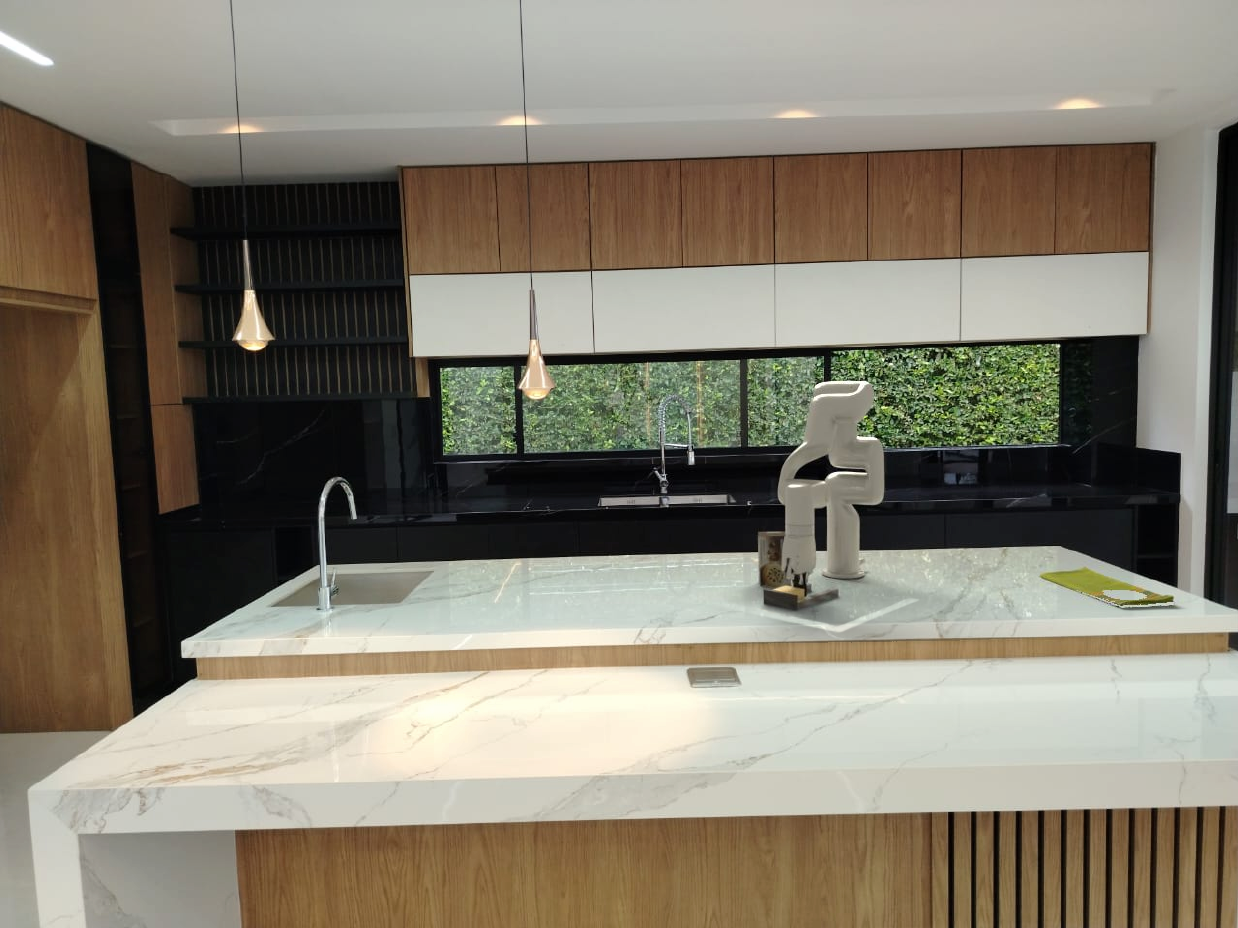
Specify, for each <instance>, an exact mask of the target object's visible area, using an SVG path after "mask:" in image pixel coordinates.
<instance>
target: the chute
mask: <svg viewBox="0 0 1238 928" xmlns="http://www.w3.org/2000/svg"><path fill="white" fill-rule="evenodd" d="M806 584H807V593H809V592H811V591H812V583H806ZM836 597H839V588H836V587H832V588H830V589H826V590H823V591H820V592H818V593H815V594H811V595H809V596H807V597H803V598H800V599H798V595H793V594H788V593H783V592H778V591H773V589H767V588H764V589H763V605H767V606H771V607H775V608H781V609H785V610H789V611H793V612H798V611H800V610H803V609H806V608H809V607H812V606H814V605H817V604H819V603H822V602H825V601H827V600H831V599H834V598H836Z"/></svg>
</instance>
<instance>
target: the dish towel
mask: <svg viewBox="0 0 1238 928" xmlns="http://www.w3.org/2000/svg"><path fill="white" fill-rule="evenodd" d="M1040 577H1041V579H1043V580H1046V581H1049V582H1050V583H1054V584H1056V585H1059V586H1062V587H1064V588H1067V589H1069V588H1070V589H1069V590H1072V591H1074V590H1078V591H1081V592H1084V593H1086V594H1089V595H1092V596H1095V597H1098V598H1101V599H1103V598H1104V600H1106V599H1108V600H1109V601H1108V600H1106V601H1108V602H1111V601H1115V602H1112V603H1114V604H1117V605H1120V606H1123V605H1140V604H1141V605H1148V604H1156V603H1167V602H1174V603H1175V601H1174V599H1175V598H1174V596H1173V595H1170V594H1166V595H1162V594H1159V593H1156V592H1153V591H1150V590H1147V589H1144V588H1141V587H1139V586H1136V585H1133V584H1131V583H1127V582H1123V581H1120V580H1118V579H1115V578H1112V577H1108V576H1106V575H1104V574H1102V573H1099V572H1096V571H1093V570H1091V569H1090V568H1087V567H1086V566H1084V567H1082V568H1080V569H1072V570H1067V571H1066V570H1061V571H1060V570H1059V571H1050V572H1049V571H1048V572H1044V573H1041V574H1039V578H1040ZM1103 590H1111V591H1112V590H1130V591H1136V592H1139V593H1143V594H1145V595H1147V596H1146V597H1147V598H1145V599H1144V598H1143V599H1139V600H1120V599H1114V598H1111V597H1108V596H1106V595H1104V594H1103V593H1104V592H1102V591H1103Z"/></svg>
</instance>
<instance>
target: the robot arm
mask: <svg viewBox="0 0 1238 928" xmlns="http://www.w3.org/2000/svg"><path fill="white" fill-rule="evenodd" d="M812 391H813V392H812V393H813V398H812V399H811V400H810V403H809V407H808V413H807V414H808V415H807V419H806V424H805V430H804V434H803V441H802V443H801V445H799V446H798V447H797V448H796V449H795V450H794V451H793V452H792V453H791V454H790V455H789V456H788V457H787V458H786V460H785V462H784V464H783V465H782V468H781V471H780V476H779V481H778V487H777V498H778V500H779V502H780V504H782V505H783V506H784V507H785V532H786V536H785V537H784V542H783V549H782V572H784V573H787V577H786V578H787V579H791V584H793V585H792V587H796V588H801V589H804V597H808V596H807V593H808V592H807V584H806V583H808V582H809V576H810V575H811V574H813V572H814V569H815V568H816V567H817V548H816V539H815V509H823V508H825V507H826V516H827V517H826V521H827V522H826V524H827V525H826V526H827V528H826V530H827V531H826V532H827V533H826V534H827V535H826V554H827V555H826V563H827V564H826V567H824V568H822V569H821V574H822V575H823V576H825V577H827V578H828V577H829V578H832V579H833V578H834V579H844V580H846V579H847V580H850V579H858V578H861V577H864V576H865V570H863V569H861V568H860V566H861V565H864V564H865V563H866V559H865V558H864V557H860V516H859V513H858V511H857V510H856V509H855V508H854V506H853V505H864V506H866V505H867V506H869V505H870V506H875V505H879V504H881V502H882V501H883V499H884V494H885V460H884V459H885V456H884V455H885V454H884V447H883V444H882V442H881V441H880V439H878V438H876V437H873V436H859V434H858V424H859V423H861V421H862V420H863V419H864V417H865V416H866V415H867V413H868V412H869V411H870V410H871V408H872V406H873V404H874V400H875V391H874V388H873V386H872V384H871V382H867V381H858V380H857V381H824V382H820V383H818V384H816V385H815V386H814V388H813V390H812ZM827 455H828V460H829V462H830V465H832V466H833V467H834V468H839V469H854V470H855V469H857V470H860V469H861V470H865V472H853V471H836V472H831V473H830V474H828V475H827V476H826V478H825V479H824V480H817V479H815V480H814V479H802V478H797V479H796V478H795V476H796V473H797V472H798V470H799V469H801V468H802V467H803V466H805V465H806V464H808V463H810V462H812V461H814V460H817V459H820V458H822V457H824V456H827Z"/></svg>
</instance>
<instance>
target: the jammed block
mask: <svg viewBox="0 0 1238 928" xmlns="http://www.w3.org/2000/svg"><path fill="white" fill-rule="evenodd" d="M772 590H773V591H778V592H783V593H788V594H793V595H798V599H800V598H803V597H804V589H801V588H796V587H793V586H792V585H791V586H778V587H776V588H773V589H772Z"/></svg>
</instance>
